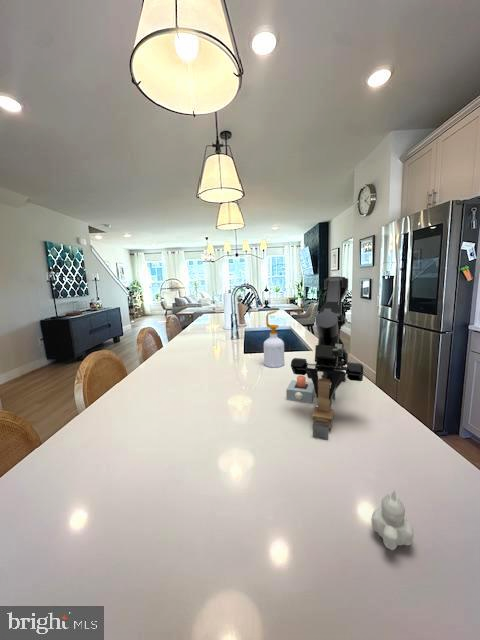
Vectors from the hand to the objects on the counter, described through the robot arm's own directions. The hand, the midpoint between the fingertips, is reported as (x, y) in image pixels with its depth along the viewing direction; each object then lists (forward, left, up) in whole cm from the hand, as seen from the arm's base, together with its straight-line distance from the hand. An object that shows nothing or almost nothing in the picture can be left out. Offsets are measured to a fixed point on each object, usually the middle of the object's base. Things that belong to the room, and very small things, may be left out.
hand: (323, 398), depth 70 cm
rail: (-4, -4, -8) cm, 9 cm away
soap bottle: (-8, -50, -8) cm, 51 cm away
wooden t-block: (0, 0, -6) cm, 6 cm away
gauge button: (-3, -17, -5) cm, 18 cm away
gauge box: (-3, -17, -8) cm, 19 cm away
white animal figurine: (+8, +30, -8) cm, 32 cm away
